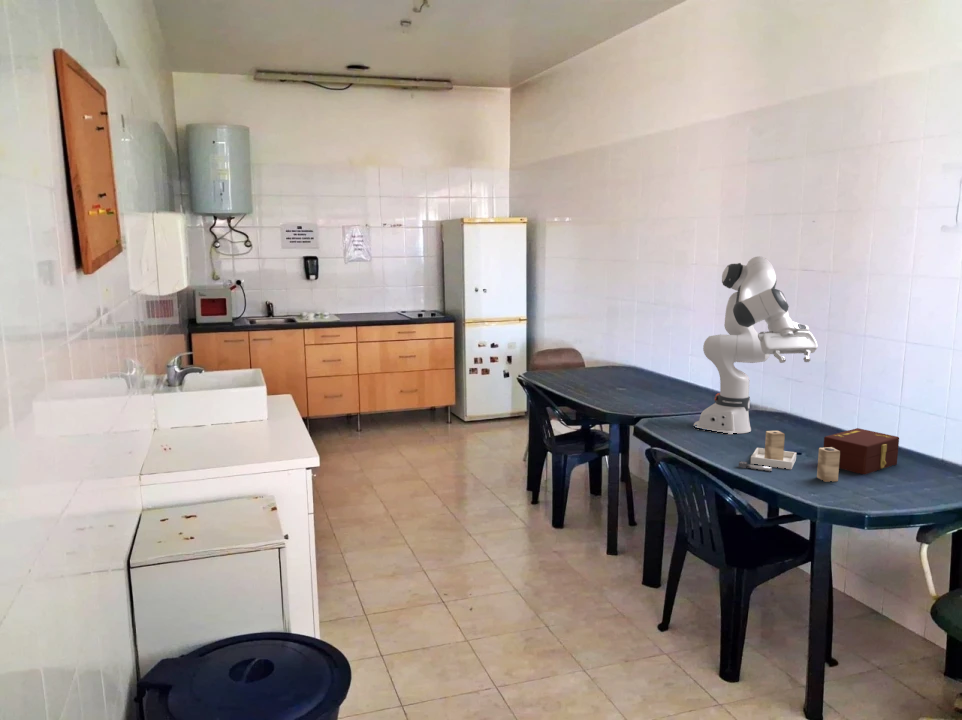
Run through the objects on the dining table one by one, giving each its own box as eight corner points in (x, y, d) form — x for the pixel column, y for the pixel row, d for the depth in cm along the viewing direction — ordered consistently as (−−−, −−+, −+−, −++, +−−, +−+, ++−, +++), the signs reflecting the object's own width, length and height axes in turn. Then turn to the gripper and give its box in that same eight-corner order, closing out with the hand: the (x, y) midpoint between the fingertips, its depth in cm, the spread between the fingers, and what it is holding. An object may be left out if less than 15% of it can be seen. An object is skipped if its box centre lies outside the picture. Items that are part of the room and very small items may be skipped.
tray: (750, 463, 254) (750, 457, 253) (756, 454, 265) (757, 447, 265) (791, 469, 247) (791, 462, 247) (796, 459, 259) (796, 452, 258)
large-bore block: (816, 477, 239) (818, 447, 237) (829, 476, 240) (831, 447, 238) (824, 481, 235) (827, 451, 233) (837, 481, 235) (840, 451, 234)
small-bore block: (764, 458, 258) (765, 430, 256) (776, 458, 259) (778, 430, 257) (770, 462, 254) (772, 434, 252) (783, 461, 254) (784, 433, 252)
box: (868, 476, 240) (870, 447, 239) (821, 464, 254) (823, 436, 252) (901, 465, 252) (904, 437, 250) (855, 454, 265) (857, 427, 264)
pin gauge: (738, 467, 249) (738, 462, 249) (739, 466, 251) (739, 461, 251) (771, 472, 244) (771, 467, 244) (771, 470, 246) (772, 465, 246)
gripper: (759, 326, 268) (771, 357, 260) (812, 325, 270) (825, 355, 262) (753, 337, 273) (764, 367, 265) (804, 335, 275) (817, 365, 267)
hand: (795, 361), depth 263 cm, fingers open, 8 cm apart
